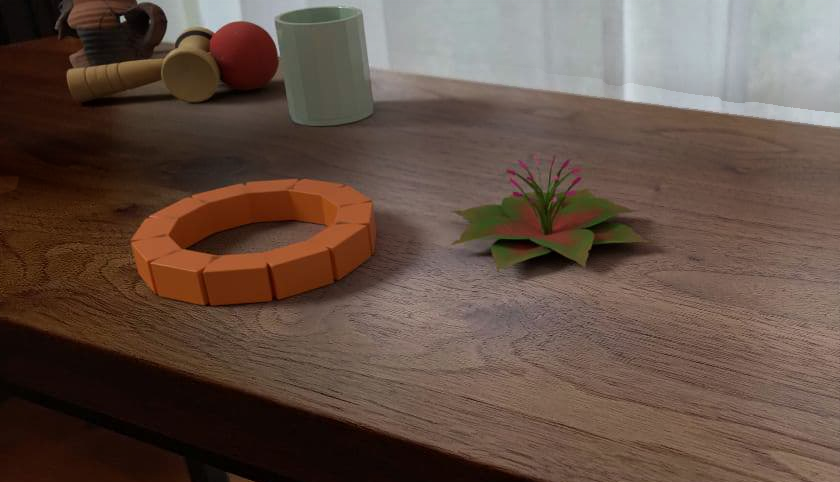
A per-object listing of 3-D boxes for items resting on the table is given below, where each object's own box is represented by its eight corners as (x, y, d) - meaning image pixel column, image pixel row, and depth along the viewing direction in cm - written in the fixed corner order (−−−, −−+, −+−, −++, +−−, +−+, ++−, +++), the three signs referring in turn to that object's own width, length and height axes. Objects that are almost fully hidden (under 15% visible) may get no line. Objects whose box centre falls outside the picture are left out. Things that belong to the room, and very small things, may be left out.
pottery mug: (44, 85, 96) (27, 2, 97) (108, 102, 106) (92, 27, 106) (151, 51, 94) (133, -34, 94) (207, 71, 103) (190, -6, 103)
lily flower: (601, 186, 65) (600, 118, 63) (686, 257, 55) (688, 178, 53) (422, 217, 61) (414, 146, 59) (478, 298, 51) (471, 216, 49)
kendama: (72, 132, 85) (279, 85, 86) (45, 57, 83) (258, 10, 84) (100, 121, 92) (291, 79, 93) (76, 52, 90) (271, 10, 91)
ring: (183, 329, 50) (175, 294, 49) (115, 246, 60) (107, 215, 59) (415, 257, 56) (412, 225, 55) (319, 193, 66) (315, 164, 65)
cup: (310, 131, 78) (294, 28, 74) (278, 113, 83) (261, 15, 79) (388, 114, 81) (376, 14, 78) (352, 97, 86) (339, 2, 83)
